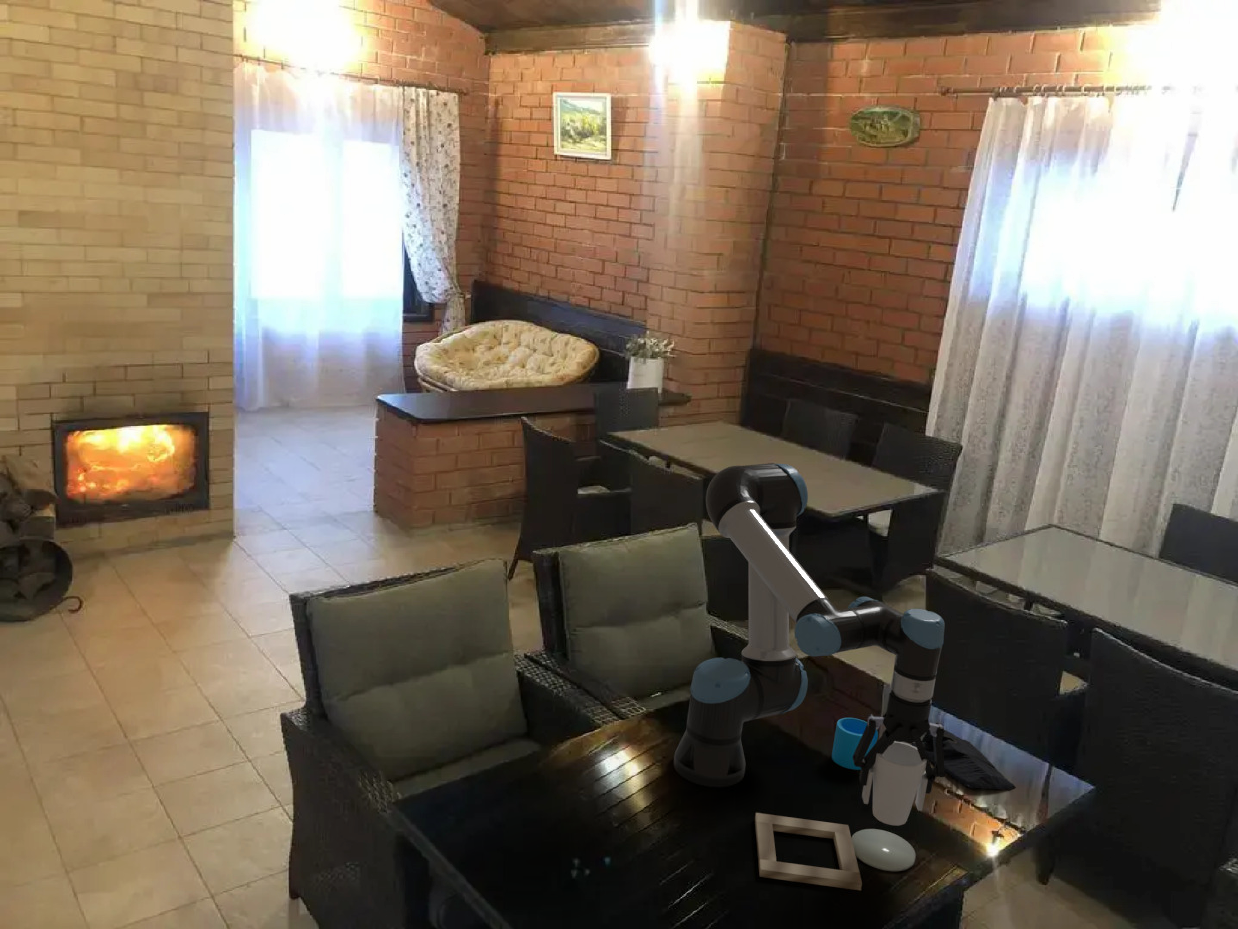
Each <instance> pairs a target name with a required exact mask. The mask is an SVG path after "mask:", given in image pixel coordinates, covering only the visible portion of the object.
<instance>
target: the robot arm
mask: <svg viewBox="0 0 1238 929" xmlns="http://www.w3.org/2000/svg"><path fill="white" fill-rule="evenodd" d="M808 494H809V492H808V487H807V484H806V482H805V479H804V477H803V475H801V474H800V473H799V471H798V470H797V469H796V468H795V467H793V466H792V465H789V464H786V463H772V462H771V463H769V462H768V463H761V464H748V465H747V464H746V465H731V466H728V467H725V468H723V469H722V470H720V471H719V472H717V473H716V474H714V476H713V477H712V479H711V481H710V482H709V484H708V486H707V489H706V494H705V505H706V512H707V513H708V517H709V518H710V519H709V520H710V522H711V524H713V526H714V527H715V529H716V530H717V532H718V533H719V534H720V535H721V536H722V537H723V538H727V539H730V540H731V541H732V542H733V544H734V545H735V547H736V548H737V549H738V550H739V551H740V553H741V554H742V555H743V557H744V558H745V559H746V561H747V562H748V644H747V646H745V647H744V648H743V649H742V651H741V660H739V659H736V658H731V657H728V658H724V657H713V658H710V659H707V660H704V661H702V662H701V663H699V664H698V665H697V666H696V668H695V670H694V672H693V675H692V680H691V683H690V695H689V703H688V704H689V705H688V710H687V719H686V729H685V732H684V733H683V736H682V737H681V739H680V741H679V744H678V745H677V747H676V749H675V752H674V757H673V767H674V770H675V771H676V773H677V774H679V776H680V777H682V778H684V779H685V780H687V781H688V782H691V783H693V784H695V785H698V786H704V787H709V788H726V787H730V786H734V785H736V784H739V783H740V782H742V780H743V779H744V776H745V773H746V759H745V755H744V749H743V745H742V744H743V743H742V732H743V727H744V723H745V722H749V721H753V720H757V719H762V718H766V717H769V716H770V717H771V716H776V715H777V716H778V715H783V714H785V713H787V712H789V711H793V710H795V709H797V707H799V706H800V705H801V704H802V703H803V701H804V699H805V697H806V695H807V691H808V675H807V671H806V670H804V665H803V663H802V661H800V659H798V658H797V652H796V651H795V650H794V649H793V648H792V646H790V620H789V619H790V617H791V618H792V620H794V622H795V623H796V624H795V626H794V634H793V635H794V639H796V642H797V644H796V645H797V647H798V648H799V649H800V651H801V652H802V653H803V654H804V655H806V656H809V657H822V656H832V655H835V654H838V653H843V652H848V651H852V650H857V649H858V650H859V649H863V648H868V647H874V646H875V647H879V648H881V649H883V650H885V651H887V652H889V653H890V654H893V655H895V658H894V666H893V669H892V670H893V672H892V676H891V682H890V690H889V692H888V700H887V706H886V711H885V713H884V714H883V715H882V716H874V714H872V713H869V714H867V716H866V717H867V718H866V719H867V720H866V722H867V726H866V728H865V731H864V733H863V735H862V737H861V739H860V741H859V744H858V746H857V748H856V750H855V752H854V755H853V757H852V758H853V762H854V765H855V766H856V767H860V768H861V769H860V772H859V773H860V774H859V782H860V785H861V786H862V792H861V793H862V794H861V798H862V801H863V804H865V805H868V804H869V801H870V796H871V789H872V785H873V771H874V769H873V767H874V764H875V761H876V755H877V753H878V754H881V755H882V754H883V753H884V752H885V750H886V749H887V748H888V747H889V746H890V745H892V744H893V743H894V741H896V742H903V743H907V744H912V743H915V744H916V747H917V750H918V752H919V755H920V758H921V760H922V761H923V759H926V760H927V763H926V769H925V772H924V773H923V775H922V778H921V781H920V784H919V787H918V790H917V793H916V796H915V801H914V803H915V806H916V809H917V811H918V812H919V811H920V812H923V808H924V804H925V803H924V802H925V798H926V794H930V793H931V792H932V788H933V783H934V782H935V781H936V778H938V777H939V778H944V777H945V776H946V772H945V768H944V757H943V745H942V739H943V736H944V733H945V731H944V730H945V728H944V726H943V724H942V722H939V721H938V722H935V723H932V722H930V721H929V719H930V713H931V708H932V704H933V703H932V702H933V701H932V698H933V697H934V692H935V691H934V690H935V683H936V678H937V674H938V666H939V663H940V657H941V653H942V648H943V645H944V640H945V639H944V635H945V626H946V625H945V624H946V623H945V621H944V619H943V618H942V616H941V615H939V614H937V613H936V612H934V611H930V610H929V611H928V610H927V609H922V608H909V609H906V610H905V611H904V612H900V611H898V610H897V609H896V608H893V607H891V606H889V605H887V604H885V603H884V602H882V601H880V600H878V599H873V598H871V597H869V596H860V597H857V598H856V600H854V601H851V603H850V604H849V605H848V607H847V608H843V609H837V607H836V606H835V605H834V604H833V601H831V600H830V599H829V597H827V595H826V594H825V593H824V592H823V590H822V589H821V588H820V587H819V586H818V585H817V583H816V582H815V581H814V580H813V578H812V577H811V576H810V574H808V572H807V571H806V570H805V569H804V567H803V566H802V565H801V564H800V563H799V561H798V560H797V559H796V558H795V556H794V555H793V553H791V552H790V535H791V533H793V531H794V530H795V529H796V528H797V517H799V516H800V515H801V514H803V513H804V511H805V509H806V508H807V506H808V503H809V502H808V499H809V495H808ZM881 725H883V726H884V728H885V730H884V731H883V732H882V733H881V736H880V738H878V739H877V742H876V744H875V745H874V746H873V747H872V749H871V750H870V751H869V752H868V753H867V755H866V756H865V754H866V752H867V750H868V748H869V746H870V744H871V741H872V739H873V737H874V735H875V731H876V730H877V731H878V730H879V728H880V727H881ZM928 730H930V732H931V735H932V736H933V745H934V751H933V752H934V756H935V764H934V767H932V765H931V761H930V760H929V759H928V757H927V754H926V752H925V749H924V746H923V744H922V739H921V738H923V736H925V734H926V732H927V731H928Z"/></svg>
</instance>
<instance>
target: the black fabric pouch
mask: <svg viewBox="0 0 1238 929" xmlns="http://www.w3.org/2000/svg"><path fill="white" fill-rule="evenodd" d="M944 731H945V733H944V736H943V739H942V745H943V757H944V768H945V773H947V775H949V776H951V777H952V778H954V780H955V781H957V782H958V783H960V784H961V785H963V786H964V785H965V786H966V787H967V788H969V789H991V790H992V789H993V790H1006V791H1007V790H1012V789H1015V788H1017V787H1016V786H1015V785H1014V783H1012V782H1011V780H1010V781H1009V780H1008V778H1006V777H1005V776H1004V775H1003V774H1002V773H1001V772H1000V771H999V770H998V769H997V768H996V766H995V765H994V764H993V763H992V762H991V761H990V760H989V759H988V758H987V757H986V756H985V755H984V754H983V753H982V752H981V751H980V750H979V749H978V748H977V747H975V746H974V744H972V743H971V742H970V741H968V740H967V739H962V738H961V737H958V735H955V734H954V733H952V732H949V731H948V730H946V729H944ZM923 736H924V737H923ZM923 736H922V739H921V741H922V744H923V746H924V749H925V752H926V754H927V757H928V760H929V762H930V763H932V764H933V765H935V756H934V745H933V736H932V735H931V732H930V730H928V731H927V732H926V733H925V734H924V735H923ZM911 745H912V746H914V747H916V744H915V742H913V743H911ZM916 748H917V747H916Z"/></svg>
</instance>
